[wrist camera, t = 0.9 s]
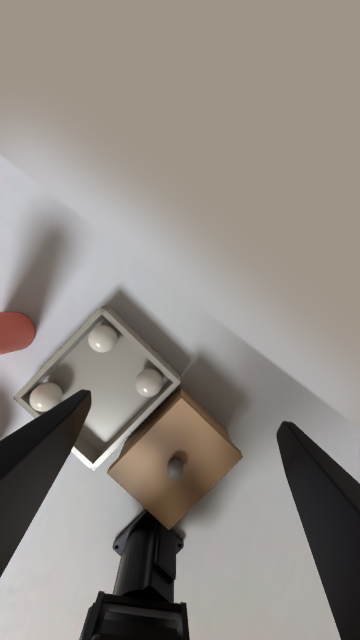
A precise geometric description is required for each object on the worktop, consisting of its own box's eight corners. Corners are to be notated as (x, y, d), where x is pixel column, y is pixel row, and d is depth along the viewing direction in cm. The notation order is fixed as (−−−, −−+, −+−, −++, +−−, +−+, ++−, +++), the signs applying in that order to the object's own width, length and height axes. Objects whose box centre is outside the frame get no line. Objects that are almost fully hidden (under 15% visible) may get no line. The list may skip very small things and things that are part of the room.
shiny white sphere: (151, 395, 23) (147, 407, 20) (132, 378, 23) (126, 388, 20) (168, 377, 23) (167, 387, 20) (150, 360, 23) (146, 367, 20)
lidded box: (170, 490, 24) (168, 540, 19) (119, 443, 24) (103, 480, 19) (231, 430, 24) (246, 463, 19) (180, 382, 24) (181, 402, 19)
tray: (101, 455, 24) (93, 471, 22) (30, 388, 24) (12, 397, 21) (180, 375, 24) (181, 382, 21) (109, 306, 23) (101, 306, 21)
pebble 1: (55, 408, 23) (37, 423, 20) (37, 391, 23) (15, 403, 20) (73, 390, 23) (57, 402, 20) (54, 373, 23) (35, 382, 20)
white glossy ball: (108, 354, 23) (97, 361, 20) (89, 336, 23) (76, 340, 20) (126, 336, 23) (118, 340, 20) (107, 318, 23) (96, 319, 20)
